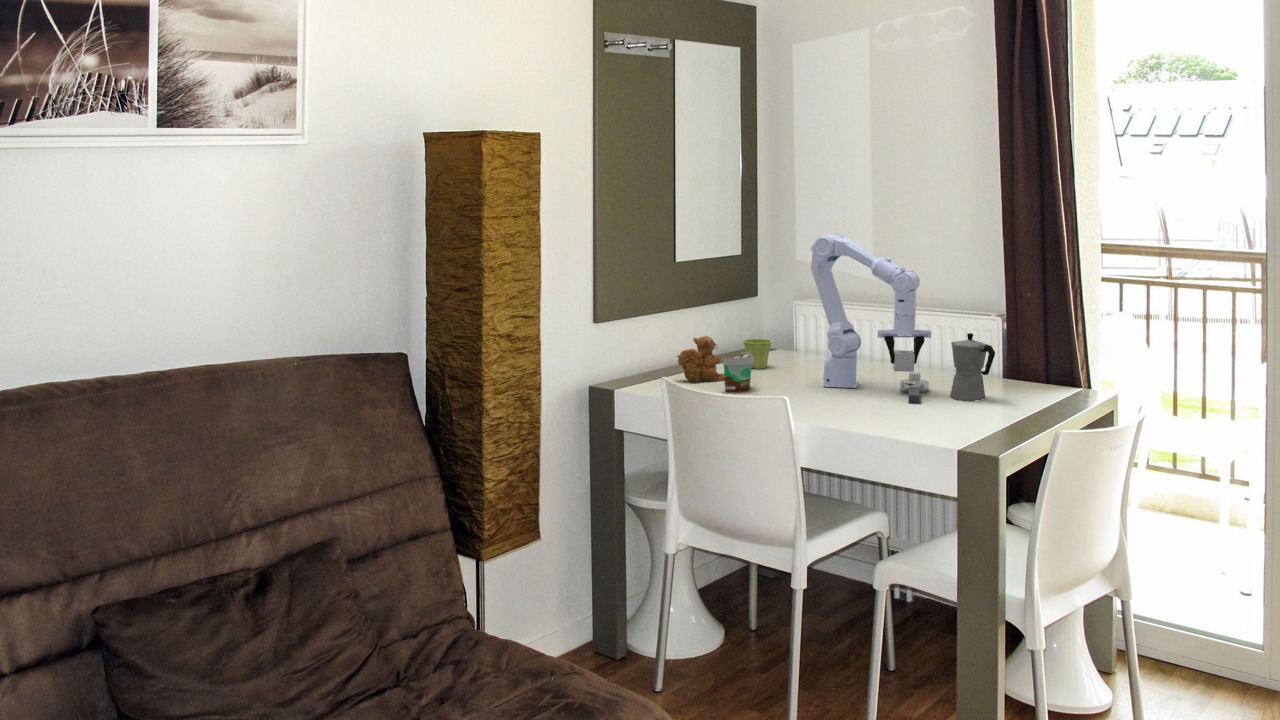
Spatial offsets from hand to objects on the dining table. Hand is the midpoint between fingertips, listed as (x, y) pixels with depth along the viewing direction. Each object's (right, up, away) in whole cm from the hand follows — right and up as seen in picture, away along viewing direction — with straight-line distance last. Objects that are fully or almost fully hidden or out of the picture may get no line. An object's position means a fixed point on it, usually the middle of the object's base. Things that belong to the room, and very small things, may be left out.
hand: (903, 363), depth 304 cm
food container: (-45, -8, +8) cm, 46 cm away
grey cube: (0, -2, 0) cm, 2 cm away
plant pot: (-36, -2, +43) cm, 57 cm away
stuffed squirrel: (-56, -6, +23) cm, 60 cm away
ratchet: (+2, -9, -2) cm, 10 cm away
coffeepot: (+16, -10, -8) cm, 21 cm away
